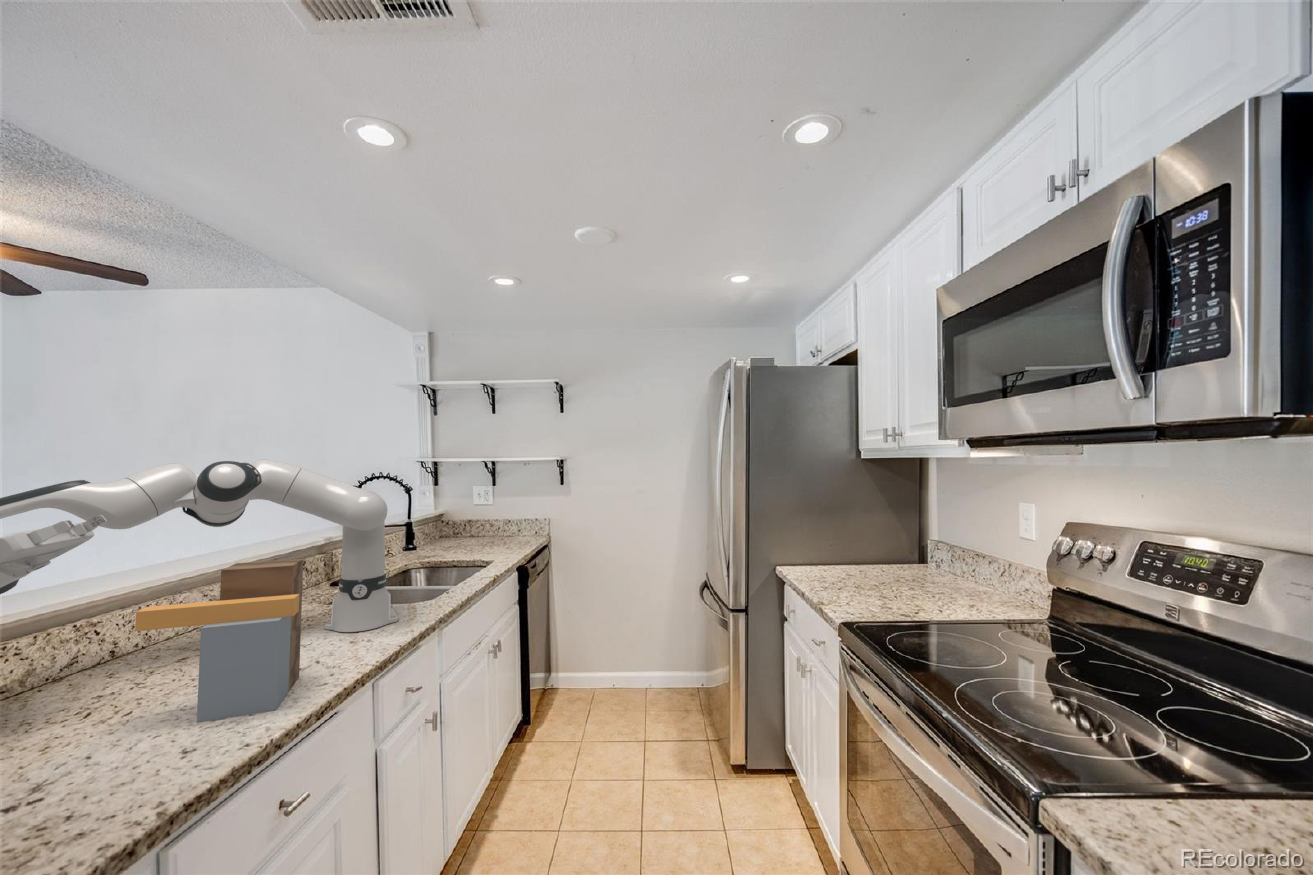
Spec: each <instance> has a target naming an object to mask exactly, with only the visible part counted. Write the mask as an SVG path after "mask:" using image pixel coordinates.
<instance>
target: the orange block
mask: <svg viewBox="0 0 1313 875" xmlns="http://www.w3.org/2000/svg"><path fill="white" fill-rule="evenodd" d="M298 611H299V594H294V595H282V596H270V597H258V598H246V599H234V600H222V601H220V600H212V601H200V602H187V603H178V604H177V603H176V604H175V603H174V604H165V605H164V604H163V605H155V606H154V605H151V606H146V607H143V608H142V609H140V610H137V611H136V612H135V626H134V627H135V630H134V632H144V631H146V632H147V631H152V630H153V631H155V630H166V629H176V628H185V627H186V628H187V627H195V626H196V627H197V626H205V625H207V624H217V623H228V622H238V621H248V620H259V619H269V618H279V617H289V616H294V615H295V614H296V613H297V612H298Z"/></svg>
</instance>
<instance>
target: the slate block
mask: <svg viewBox="0 0 1313 875" xmlns="http://www.w3.org/2000/svg"><path fill="white" fill-rule="evenodd" d="M290 633H291V616H289V617H279V618H269V619H259V620H248V621H238V622H228V623H217V624H207V625H202V627H200V639H199V660H198V662H199V663H198V684H197V685H198V686H197V687H198V688H197V703H196V704H197V707H196V710H197V711H196V723H202V722H208V721H215V720H221V719H227V718H233V717H240V716H246V715H252V714H260V713H261V714H262V713H266V712H273V711H277V709H278V708H279V707H280V706H281V704H282V703H283V701H284V700H285V698H286V697H287V695H288V694H289V692H290V691H289V662H290ZM288 691H289V692H288Z"/></svg>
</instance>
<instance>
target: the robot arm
mask: <svg viewBox="0 0 1313 875" xmlns="http://www.w3.org/2000/svg"><path fill="white" fill-rule="evenodd" d="M253 500H262V501H263V500H264V501H269V502H271V503H275V504H278V505H281V506H283V507H287V508H290V509H294V510H297V511H299V512H300V511H301V512H303V513H306V514H308V515H309V514H310V515H313V516H316V517H318V518H321V519H323V520H327V521H329V522H332V523H335V524H338V525H340V526H342V537H341V538H342V541H341V543H342V544H341V572H340V574H341V577H340V578H339V582H338V592H339V593H338V594H337V595H336V596H335V597H333V599H332V604H331V605H332V606H331V617H330V621H328V622H327V623H325V624H324V626H323V629H324V630H329V631H330V630H331V631H335V632H339V633H354V632H363V631H364V632H365V631H368V630H375V629H377V628H378V629H379V628H381V627H384V626H386V625H388V624H392V623H396V622H398V621H399V618H398V615H397V613H396V610H395V609H394V607H393V604H392V603H391V600H392V599H391V596H392V595H391V593H390V592H389V591H388V590H387V588H386V586H387V574H386V573H385V570H386V569H385V567H386V562H385V561H386V538H385V536H386V534H385V532H386V531H385V530H386V529H385V528H386V527H385V520H386V518H387V517H388V505H387V503H386V501H385V500H384V499H383V498H382V496H381V495H379V494H378V493H376V492H375V491H373V490H372V491H371V490H365V489H362V488H359V487H357V486H354V485H351V484H348V483H345V482H343V481H341V480H337V479H335V478H332V477H329V476H327V475H323V474H320V473H317V472H315V471H313V470H309V469H306V468H303V467H300V466H297V465H293V464H289V463H285V462H282V461H278V460H271V459H265V458H264V459H258V460H255V461H254V462H252V463H251V464H250V463H248V462H239V461H233V460H223V461H217V462H213V463H211V464H209V465H207V466H206V467H205V468H204V469H203V470H202V471H201V472H200V473H199V474H197V473H195V472H194V471H193V470H192V469H191V468H189V467H188V466H187V465H183V464H180V463H176V462H175V463H167V464H163V465H158V466H156V467H150V468H147V469H145V470H141V471H139V472H136V473H133V474H131V475H128V476H126V477H123V478H121V479H117V480H114V481H109V482H100V483H99V482H98V483H97V482H96V483H95V482H90V481H88V480H84V479H78V480H71V481H65V482H60V483H56V484H52V485H47V486H44V487H40V488H34V489H31V490H27V491H23V492H18V493H15V494H11V495H8V496H3V497H0V519H1V520H2V519H5V518H9V517H12V516H15V515H19V514H23V513H26V512H29V511H34V510H38V509H56V510H61V511H63V512H66V513H69V514H71V515H74V516H75V517H78V518H80V519H81V520H84V521H81V522H76V523H73V522H72V520H68V519H67V520H62V521H59V522H57V523H55V524H52V525H48V526H46V527H42V528H38V529H33V530H27V531H26V530H25V531H20V532H13V533H9V534H6V535H3V536H0V595H2V594H5V593H7V592H9V591H10V590H12V589H14V588H15V587H16V586H17V585H18V583H19V581H20V579H22V578H24V577H26V576H28V575H29V574H31V573H32V572H34V571H37V570H39V569H42V568H44V567H46V566H49V565H50V564H51V563H52V562H51V560H54V559H56V558H58V557H60V556H62V555H64V554H66V553H68V552H69V551H71V550H73V549H75V548H77V547H79V546H81V545H83V544H85V543H87V542H88V541H90V540H91V539H92V538H94V537H95V533H94V530H96V528H98V527H100V528H104V529H110V530H129V529H132V528H134V527H137V526H139V525H142V524H144V523H147V522H150V521H151V520H154V519H155V518H157V517H160V516H161V515H164V514H166V513H167V512H170V511H172V510H174V509H177V508H182V512H183V513H184V514H185V515H187V516H190V517H192V518H194V519H195V520H197V521H198V522H200V523H201V524H203V525H205V526H208V527H213V528H219V527H220V528H221V527H222V528H223V527H227V526H229V525H231V524H233V523H235V522H236V521H238V520H239V519H240V518H241V517H242V515H244V512H245V511H246V508H247V505H249V501H253Z"/></svg>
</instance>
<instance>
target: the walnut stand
mask: <svg viewBox="0 0 1313 875" xmlns="http://www.w3.org/2000/svg"><path fill="white" fill-rule="evenodd" d="M303 572H304V558H297V559H294V558H293V559H283V560H282V559H280V560H279V559H278V560H265V561H262V560H261V561H250V562H249V561H248V562H237V563H234V564H232V565H230V566H228V567H226V568H223V569H221V571H220V588H219V589H220V590H219V591H220V592H219V601H222V600H234V599H246V598H258V597H270V596H282V595H294V594H299V611H298V612H297V613H296V614H295V615H294V616H291V633H290V662H289V691H288V693H290V691H291V690H292V688H293V687H294V685H295V684H296V683H297V681H298V680H299V679H300V667H301V666H300V663H301V639H302V638H301V636H302V635H301V634H302V633H301V632H302V604H303V601H302V600H303V575H304V574H303Z"/></svg>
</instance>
